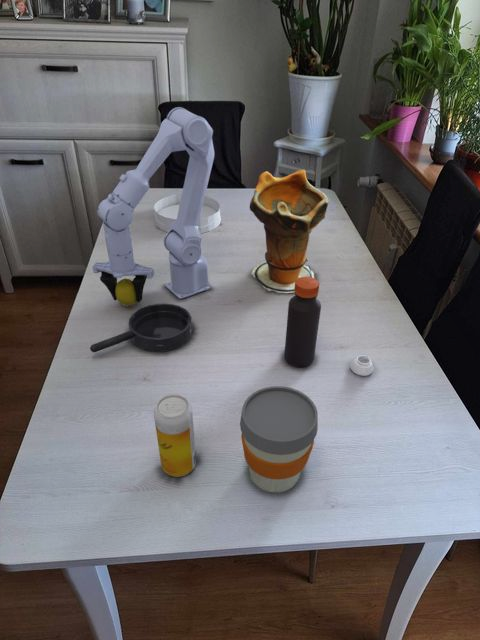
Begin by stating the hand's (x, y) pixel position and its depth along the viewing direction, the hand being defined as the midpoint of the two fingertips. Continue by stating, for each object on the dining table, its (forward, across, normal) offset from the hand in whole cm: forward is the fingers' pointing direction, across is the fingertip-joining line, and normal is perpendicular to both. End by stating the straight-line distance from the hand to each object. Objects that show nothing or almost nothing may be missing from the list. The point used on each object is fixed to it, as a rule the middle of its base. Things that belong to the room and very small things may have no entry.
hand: (127, 299), depth 123 cm
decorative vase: (+2, +38, +21) cm, 44 cm away
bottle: (+2, +45, -13) cm, 47 cm away
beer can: (+2, +26, -47) cm, 53 cm away
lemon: (+2, 0, 0) cm, 2 cm away
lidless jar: (+2, +59, -15) cm, 61 cm away
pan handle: (0, +3, -18) cm, 18 cm away
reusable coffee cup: (+2, +42, -45) cm, 62 cm away
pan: (+2, +12, -10) cm, 15 cm away
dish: (+2, +2, +53) cm, 53 cm away
